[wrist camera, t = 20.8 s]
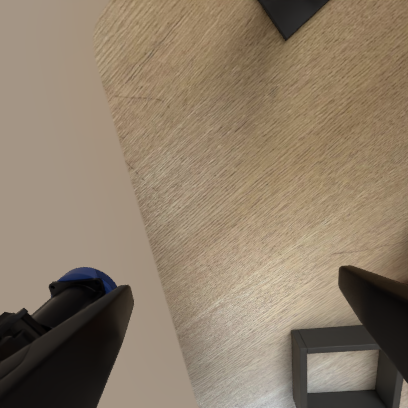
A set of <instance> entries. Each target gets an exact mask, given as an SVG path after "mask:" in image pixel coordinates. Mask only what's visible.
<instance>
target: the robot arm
mask: <svg viewBox="0 0 408 408" xmlns="http://www.w3.org/2000/svg"><path fill="white" fill-rule="evenodd" d="M97 282H99V283H97ZM338 285H339V288H340V290H341V292H342V294H343V295H344V297H345V298H346V300H347V301H348V303H349V304H350V306H351V308H352V309H353V311H354V312H355V314H356V315H357V317H358V319H359V320H360V322H361V323H362V325H363V326H364V327H365V329H366V330H367V331H368V333H369V334H370V335H371V337H372V338H373V339H374V341H375V342H376V343H377V344H378V346H379V347H380V348H381V350H382V351H383V352H384V353H385V355H386V356H387V357H388V359H389V360H390V361H391V363H392V364H393V365H394V366H395V368H396V369H397V370H398V372H399V373H400V374H401V376H402V377H403V378H404V379H405V381H406V382H407V383H408V285H406V284H403V283H401V282H398V281H395V280H392V279H389V278H386V277H383V276H380V275H377V274H375V273H372V272H369V271H366V270H363V269H360V268H357V267H354V266H351V265H348V266H341V267H340V268H339V277H338ZM49 289H50V292H51V295H52V297H51V299H49V300H48V301H47V302H46V303H45V304H44V305H42V306H41V307H40V308H39V309H38V310H37V311H36V312H35V313H33V314H32V315H29V314H28V313H27V312H28V311H27V310H26V309H25V308H23V309H21V310H20V311H19V312H17V313H16V314H15V313H8V312H4V313H3V314H2V315H0V408H97V405H98V403H99V400H100V398H101V395H102V393H103V390H104V388H105V385H106V383H107V380H108V377H109V375H110V372H111V370H112V368H113V365H114V363H115V360H116V358H117V355H118V353H119V350H120V348H121V345H122V343H123V339H124V337H125V333H126V330H127V326H128V323H129V320H130V316H131V313H132V310H133V306H134V300H133V295H132V291H131V288H130V286H129V285H121V286H118V287H117V288H115V289H114V290H112V291H111V292H109V293H108V294H106V291H105V287H104V283H103V280H102V279H101V278H88V279H77V280H66V281H55V282H52V283H51V284H50V285H49Z"/></svg>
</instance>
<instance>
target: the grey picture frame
mask: <svg viewBox="0 0 408 408" xmlns="http://www.w3.org/2000/svg"><path fill="white" fill-rule="evenodd" d="M291 335H292V372H293V399H294V402H295V405H296V408H399V405H400V398H401V391H402V384H403V377H402V376H401V374H400V373H399V372H398V370H397V369H396V368H395V366H394V365H393V364H392V363H391V361H390V360H389V359H388V357H387V356H386V355H385V353H384V352H383V351H382V350H381V348H380V347H379V346H378V344H377V343H376V342H375V341H374V339H373V338H372V337H371V335H370V334H369V333H368V331H367V330H366V329H365V327H364V326H363V325H358V326H344V327H329V328H315V329H301V330H291ZM378 349H380V351H379V361H378V370H377V380H376V390H368V391H347V392H327V393H307V354H313V353H329V352H345V351H362V350H378Z"/></svg>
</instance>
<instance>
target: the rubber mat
mask: <svg viewBox="0 0 408 408" xmlns="http://www.w3.org/2000/svg"><path fill="white" fill-rule="evenodd" d="M258 1H259V2H260V4H261V5H262V7H263V8H264V10H265V11H266V13H267V14H268V16H269V17H270V19H271V20H272V22H273V23H274V25H275V26H276V28H277V29H278V30H279V32H280V33H281V35H282V36H283V38H284V39H285V41H286V40H287V39H288V38H289V37H290V36H291V35H292V34H293V33H294V32H295V31H297V30H298V29H299V28H300V27H301V26H302V25H303V24H304V23H305V22H306V21H307V20H308V19H309V18H310V17H311V16H313V15H314V14H315V13H316V12H317V11H318V10H319V9H320V8H321V7H322V6H323V5H324V4H325V3H326V2H327V1H328V0H258Z"/></svg>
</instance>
